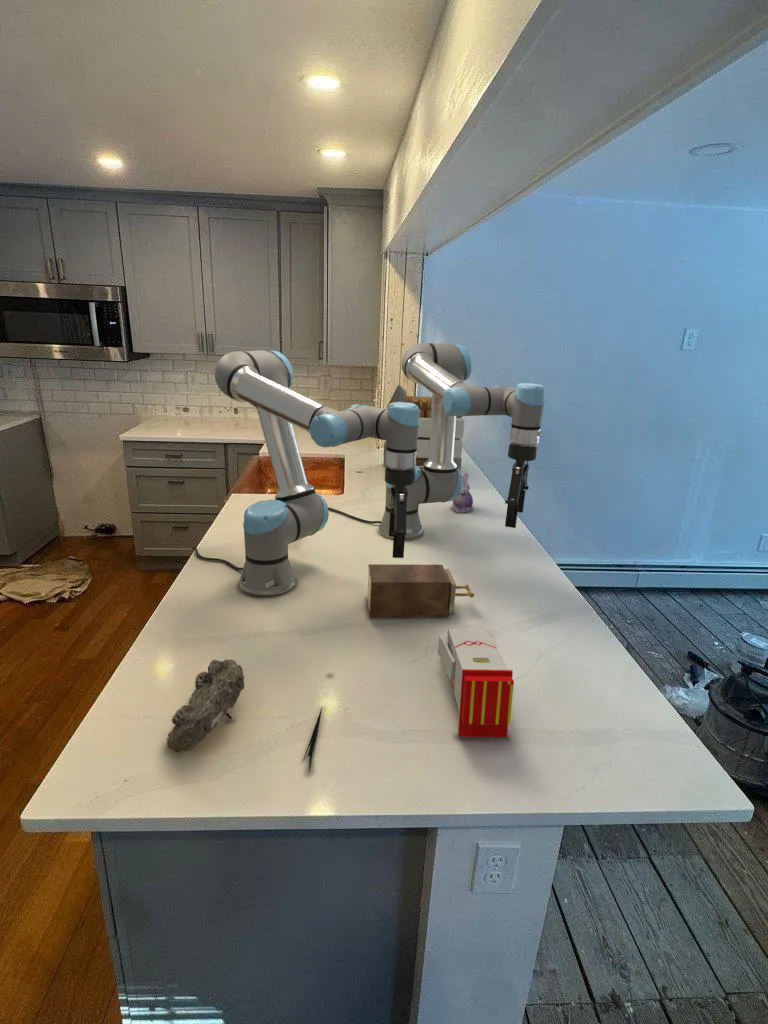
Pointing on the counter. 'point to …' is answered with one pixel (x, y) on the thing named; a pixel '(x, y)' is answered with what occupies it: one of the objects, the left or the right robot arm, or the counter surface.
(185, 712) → the fossil
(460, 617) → the counter surface
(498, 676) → the white and red box
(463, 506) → the figurine
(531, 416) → the right robot arm
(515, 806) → the counter surface
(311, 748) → the feather
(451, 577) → the drawer
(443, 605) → the cabinet
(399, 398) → the transformer
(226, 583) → the counter surface
